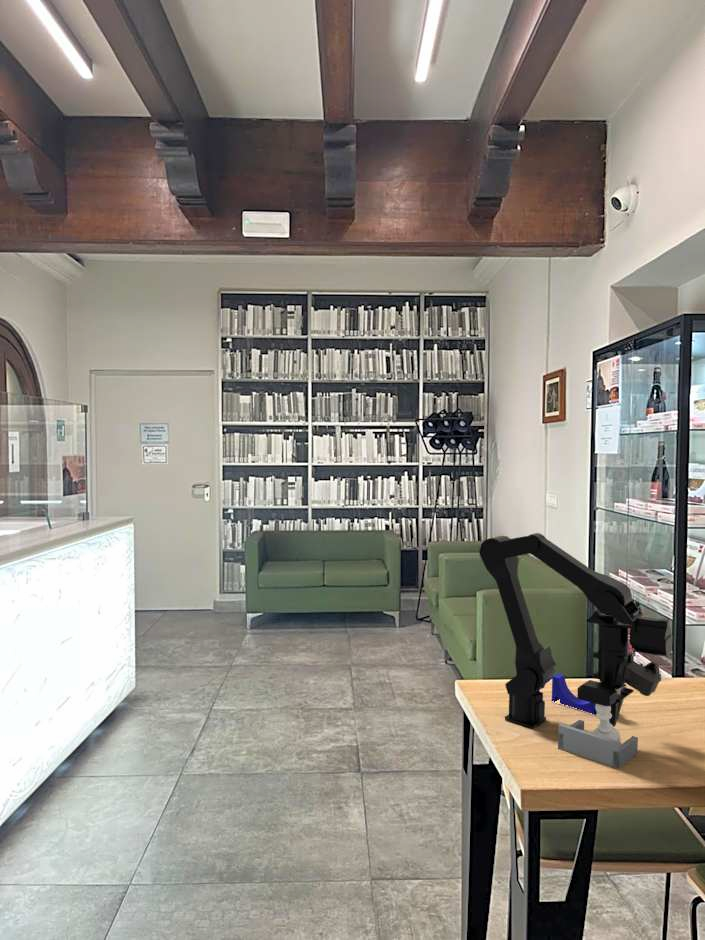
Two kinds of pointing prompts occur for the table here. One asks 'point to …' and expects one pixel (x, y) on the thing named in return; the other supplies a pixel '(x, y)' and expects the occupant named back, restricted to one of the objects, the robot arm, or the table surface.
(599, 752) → the box
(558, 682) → the blue concave cradle
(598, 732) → the chess pawn
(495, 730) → the table surface
